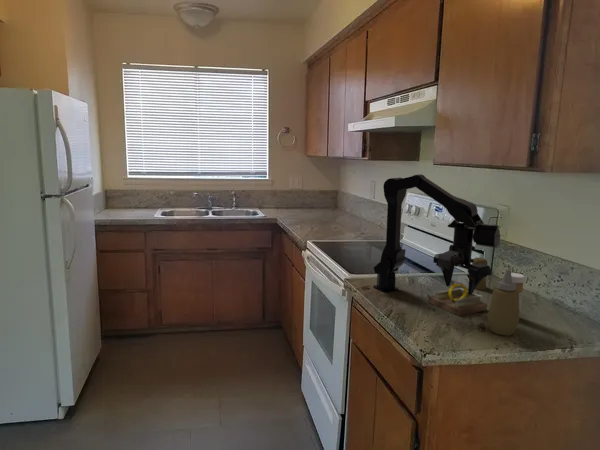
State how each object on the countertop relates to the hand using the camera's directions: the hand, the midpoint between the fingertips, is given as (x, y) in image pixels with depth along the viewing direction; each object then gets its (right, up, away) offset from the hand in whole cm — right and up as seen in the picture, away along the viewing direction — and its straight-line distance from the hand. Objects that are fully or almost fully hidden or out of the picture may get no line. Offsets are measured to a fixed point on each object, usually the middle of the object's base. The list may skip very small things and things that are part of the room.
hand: (458, 290), depth 143 cm
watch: (0, -4, +1) cm, 4 cm away
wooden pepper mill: (+14, -2, +21) cm, 25 cm away
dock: (0, -5, +1) cm, 5 cm away
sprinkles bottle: (+13, -7, -7) cm, 17 cm away
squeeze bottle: (+6, -9, -18) cm, 21 cm away
